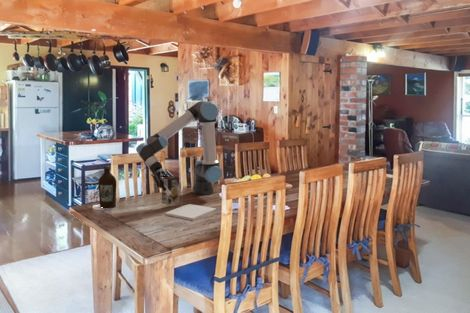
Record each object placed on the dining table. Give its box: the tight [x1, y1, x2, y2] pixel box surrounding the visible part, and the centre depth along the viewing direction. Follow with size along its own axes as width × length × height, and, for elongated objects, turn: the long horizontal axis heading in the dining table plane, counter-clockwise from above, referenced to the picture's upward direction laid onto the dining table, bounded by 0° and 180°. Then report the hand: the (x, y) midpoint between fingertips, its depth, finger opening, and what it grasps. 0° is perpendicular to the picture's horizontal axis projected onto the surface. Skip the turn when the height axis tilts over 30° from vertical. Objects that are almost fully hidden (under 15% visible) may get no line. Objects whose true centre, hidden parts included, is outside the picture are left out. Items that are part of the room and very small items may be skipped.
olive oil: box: [97, 165, 117, 209], centre depth 258 cm, size 11×11×25 cm
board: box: [164, 203, 217, 221], centre depth 251 cm, size 24×20×1 cm
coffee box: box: [161, 175, 180, 206], centre depth 260 cm, size 9×6×16 cm
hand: (174, 192), depth 259 cm, fingers closed on coffee box, 9 cm apart
